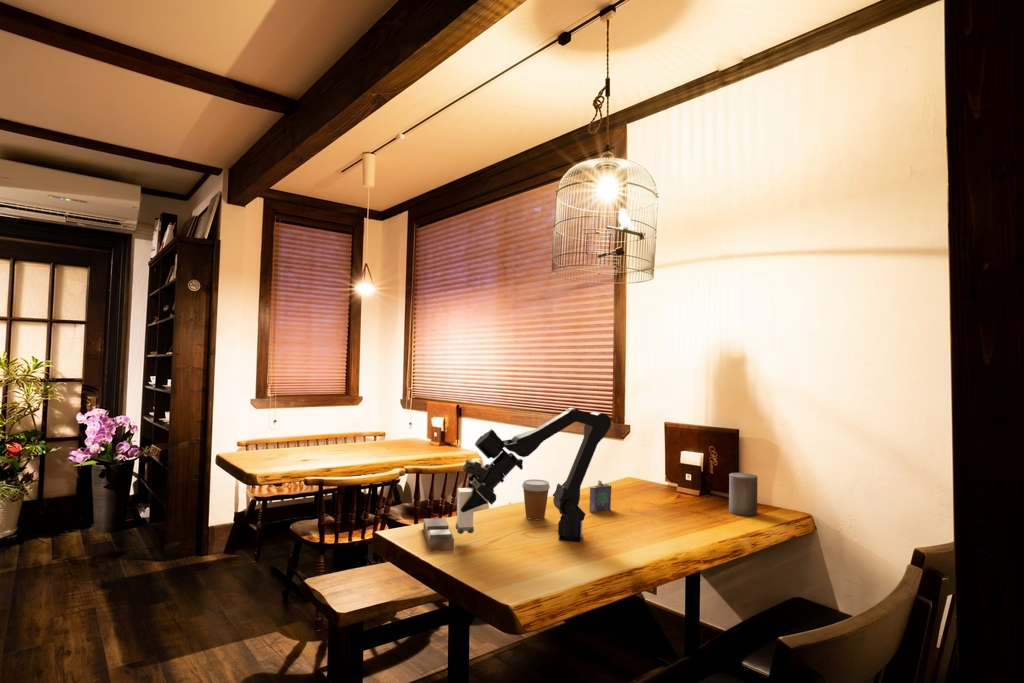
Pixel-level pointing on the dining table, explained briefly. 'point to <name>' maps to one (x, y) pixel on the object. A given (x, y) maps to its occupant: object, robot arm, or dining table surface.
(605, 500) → the flask
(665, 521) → the dining table surface
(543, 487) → the disposable coffee cup
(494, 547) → the dining table surface
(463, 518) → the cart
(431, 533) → the dock
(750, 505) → the pillar candle
